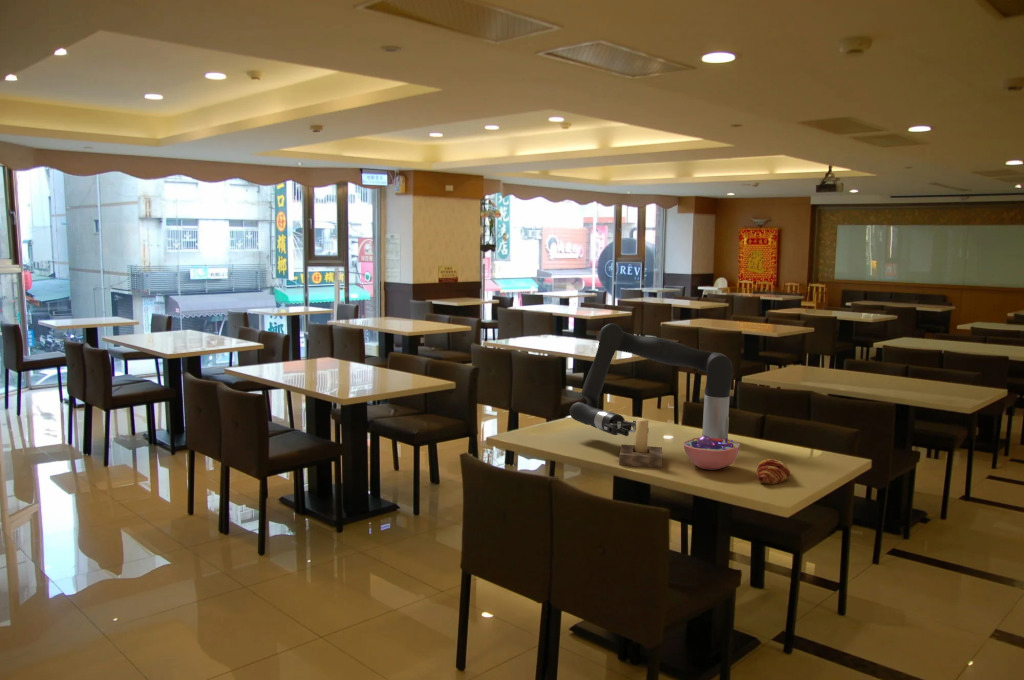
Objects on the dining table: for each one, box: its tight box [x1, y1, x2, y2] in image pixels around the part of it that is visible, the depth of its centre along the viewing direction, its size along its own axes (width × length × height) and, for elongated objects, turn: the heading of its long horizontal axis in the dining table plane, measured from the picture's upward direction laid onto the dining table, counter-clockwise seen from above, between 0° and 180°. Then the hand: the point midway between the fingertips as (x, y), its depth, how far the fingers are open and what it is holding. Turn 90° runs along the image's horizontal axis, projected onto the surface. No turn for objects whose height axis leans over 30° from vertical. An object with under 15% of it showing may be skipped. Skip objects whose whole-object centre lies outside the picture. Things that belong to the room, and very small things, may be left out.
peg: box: [634, 418, 649, 453], centre depth 259 cm, size 4×4×14 cm
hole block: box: [618, 444, 663, 469], centre depth 259 cm, size 14×14×4 cm
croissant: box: [756, 458, 791, 485], centre depth 242 cm, size 21×10×8 cm, turn 143°
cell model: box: [682, 435, 741, 471], centre depth 253 cm, size 17×20×11 cm
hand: (637, 432), depth 260 cm, fingers open, 8 cm apart
